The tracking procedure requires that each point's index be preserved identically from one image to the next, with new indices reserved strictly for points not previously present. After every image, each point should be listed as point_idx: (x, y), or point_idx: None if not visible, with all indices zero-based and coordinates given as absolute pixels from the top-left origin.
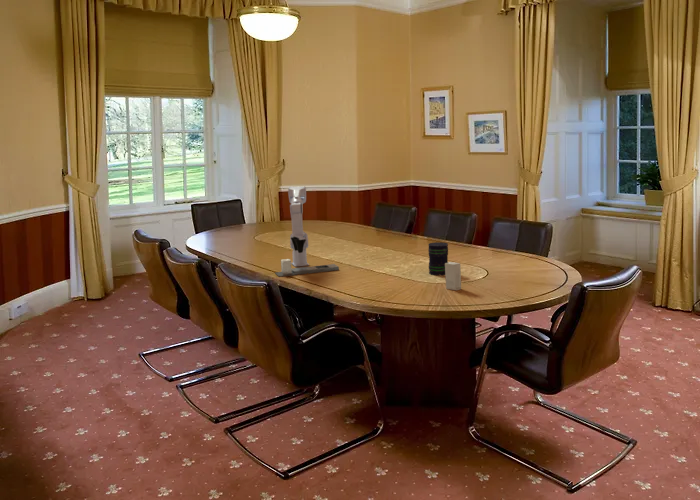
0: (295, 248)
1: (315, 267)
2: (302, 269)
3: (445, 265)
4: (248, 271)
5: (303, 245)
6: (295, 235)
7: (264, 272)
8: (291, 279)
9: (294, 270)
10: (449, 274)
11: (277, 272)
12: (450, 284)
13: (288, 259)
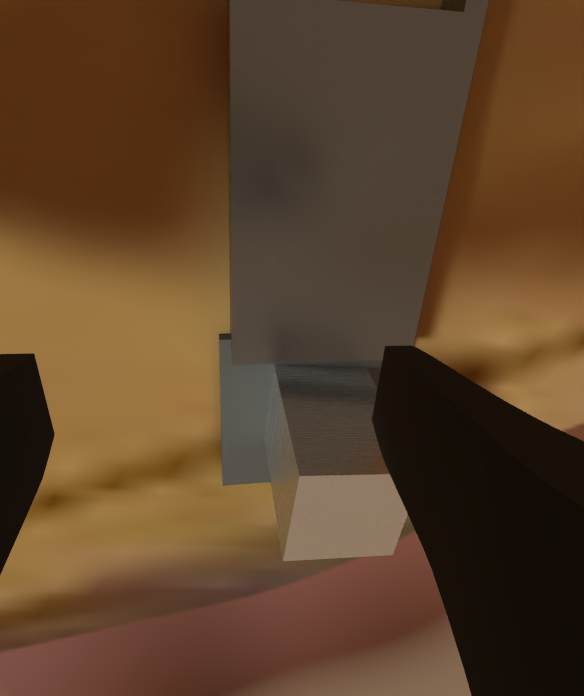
0: (33, 465)
1: (353, 13)
2: (362, 250)
3: None
4: (34, 627)
5: (570, 443)
6: None
7: (130, 541)
8: (537, 394)
9: (357, 348)
10: None
11: (232, 468)
12: None
13: (335, 490)
